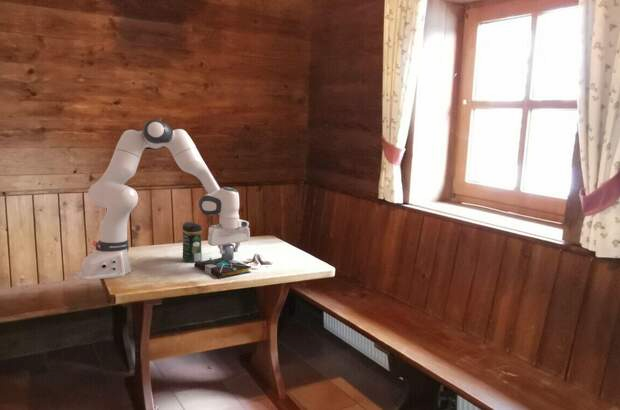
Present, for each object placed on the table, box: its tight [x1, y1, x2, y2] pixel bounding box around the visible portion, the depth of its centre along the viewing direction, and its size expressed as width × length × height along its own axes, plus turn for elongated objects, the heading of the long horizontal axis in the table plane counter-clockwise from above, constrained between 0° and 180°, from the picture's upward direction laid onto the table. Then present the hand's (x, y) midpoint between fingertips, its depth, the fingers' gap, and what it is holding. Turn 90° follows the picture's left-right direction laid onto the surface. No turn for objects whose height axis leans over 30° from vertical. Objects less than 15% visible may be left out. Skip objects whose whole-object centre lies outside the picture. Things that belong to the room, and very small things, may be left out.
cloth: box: [239, 251, 277, 271], centre depth 250 cm, size 22×19×6 cm
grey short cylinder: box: [221, 243, 235, 260], centre depth 238 cm, size 5×5×6 cm
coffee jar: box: [182, 221, 203, 263], centre depth 250 cm, size 10×8×19 cm
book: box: [193, 257, 252, 280], centre depth 237 cm, size 22×17×5 cm
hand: (228, 252), depth 237 cm, fingers closed on grey short cylinder, 5 cm apart
